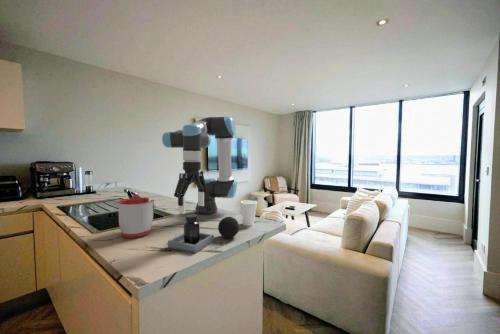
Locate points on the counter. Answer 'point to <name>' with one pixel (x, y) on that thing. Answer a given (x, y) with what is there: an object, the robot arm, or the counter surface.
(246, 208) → the foam cup
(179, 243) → the tray
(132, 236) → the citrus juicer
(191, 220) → the supplement bottle
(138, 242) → the counter surface
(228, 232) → the speaker
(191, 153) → the robot arm
